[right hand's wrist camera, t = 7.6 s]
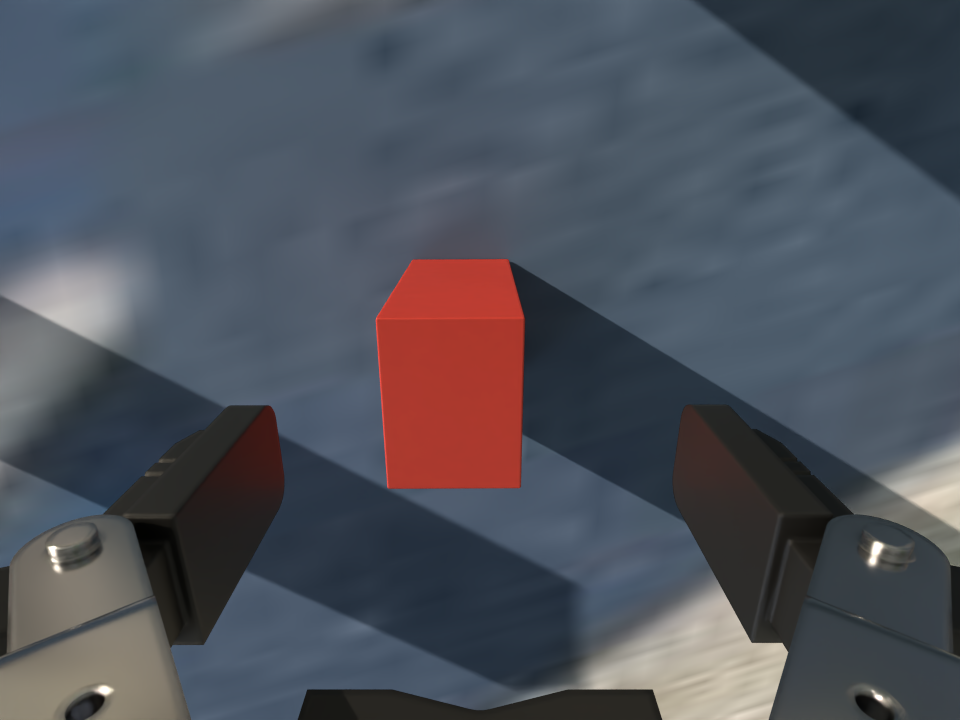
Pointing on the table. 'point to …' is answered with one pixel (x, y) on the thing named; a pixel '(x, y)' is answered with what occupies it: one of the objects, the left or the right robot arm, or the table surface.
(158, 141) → the table surface
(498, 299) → the brick
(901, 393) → the table surface
